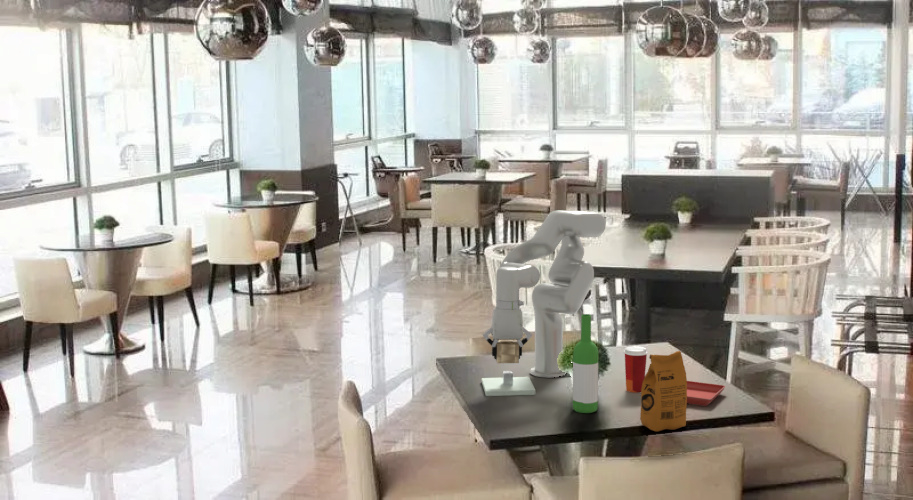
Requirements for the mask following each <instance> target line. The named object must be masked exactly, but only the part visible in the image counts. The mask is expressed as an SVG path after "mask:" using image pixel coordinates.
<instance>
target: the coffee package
mask: <svg viewBox="0 0 913 500" xmlns="http://www.w3.org/2000/svg"><path fill="white" fill-rule="evenodd" d="M648 358H649V360H650V364H649V365H648V369H647V372H646V373H645V378H644V381H643V383H642V389H641V392H640V394H641V395H640V415H639V420H640V422H641V425H642V426H644V427H646V428H647V429H649V430H650V431H654V432H661V431H664V430H672V431H673V430H677V429H680V428H682V427H686V426H687V425H686V424H687V408H688V407H687V405H688V404H687V381H688V380H687V372H686V367H685V365H684V358H683V355H682V351H681V350H678V351H674V352H673V353H671V354H664V355H663V354H649V357H648Z"/></svg>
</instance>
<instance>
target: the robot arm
mask: <svg viewBox="0 0 913 500" xmlns="http://www.w3.org/2000/svg"><path fill="white" fill-rule="evenodd" d="M606 224H607V223H606V219H605V217H604V215H602V214H601V213H599V212H591V211H583V210H581V211H580V210H561V209H560V210H553V211H551V212H550V213H549V214H548V215H547V216H546V218H545V219H544V220H543V222H542V224H541V225H540V226H539V228H538V230H536V232H535V233H534V235H533V237H531V238H530V239H528V240H526V241H524V242H522V243H521V244H519V245H517V246H515V247H514V248H512V249H511V250H510V251H509V252H508V253H507V254H506V256H504V259H503V260H502V261H501V263H500V265H499V267H498V268H497V270H496V275H495V276H496V278H495V279H496V282H495V285H496V287H495V288H496V291H495V293H496V296H495V298H496V299H495V301H496V302H495V307H494V308H493V311H492V316H491V327H489V328H488V329H487V330H486V331H485V332H483V333H482V337H483V338H484V339H485V340H486V342H487V343H488V344H489V345H490V346H491V356H492V357H493V359H494V360H496V359H497V347H496V344H497V342H498V340H517V342H518V344H519V360H521V357H522V356H523V347H524V345H525V344H526V343H528V341H529V340H530V338H532V336H533V335H532V333H531V332H530V331H528V330H527V329H526V328H525V327H524V324H523V322H524V321H523V320H524V319H523V313H522V312H523V311H522V308H520V307H521V306H524V304H525V303H524V301H522V300H520V289H521V288H526V289H527V288H528V289H529V288H533V287H534V288H533V290H532V293H531V300H532V301H531V302H532V307H533V311H534V367H531V368H530V370H529V373H530V374H531V375H532V376H534V377H537V378H543V379H544V378H545V379H546V378H548V379H551V378H552V379H553V378H554V377H555V378H560V377H559V376H561V377H563V376H562V375H564V374H565V372H562V371H561V370H559V368H558V364H557V358H558V355H559V353H560V352H561V351H562V352H563V340H564V338H563V332H564V331H563V329H564V328H563V326H564V325H563V319H562V317H561V315H560V314H565V315H575V314H576V313H577V312H578V311H579V310H580V308H581V307H582V305H583V303H584V302H585V298H586V297H587V295H588V293H589V291H590V290H591V287H592V284H593V283H594V279H595V278H594V277H595V270H594V267H593V265H592V264H591V263H590V262H588V261H585V260H583V258H584V256H585V248H584V245H583V243H582V241H581V238H598V237H600V236H601V235H603V233H605V230H606V226H607V225H606ZM560 243H561V245H560V248H559V251H558V252H557V254H556V256H555V258H554V259H553V262H552V264H551V265H550V268H549V270H548V273H547V275H548V276H547V277H548V279H549V281H550V282H551V283H550V282H542V283H539V281H540V279H541V272H540V270H539V269H538V268H537V267H536V266H534V265H531V264H527V262H530V261H533V260H537V259H542V258H545V257H548V256H551V255H552V254H553V253H554V252H555V250H556V249H557V247H558V246H559V244H560ZM489 335H491V336H492V338H493V339H492V338H490V337H489ZM524 335H525V337H524ZM564 376H565V375H564ZM555 378H554V379H555Z"/></svg>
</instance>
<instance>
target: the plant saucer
mask: <svg viewBox="0 0 913 500" xmlns="http://www.w3.org/2000/svg"><path fill="white" fill-rule="evenodd" d="M725 388H726V385H723V384H715V383H707V382H699V381H693V380H691V381H690V380H687V403H689V404H688V405H694V404H695V405H694V406H703V407H707V406H708V405H709V404H710V403H712V402H713V401H714V400H715V399H716V398H717V397H718V396H720V394H721V393H722V392H723V391H724V390H725Z"/></svg>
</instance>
